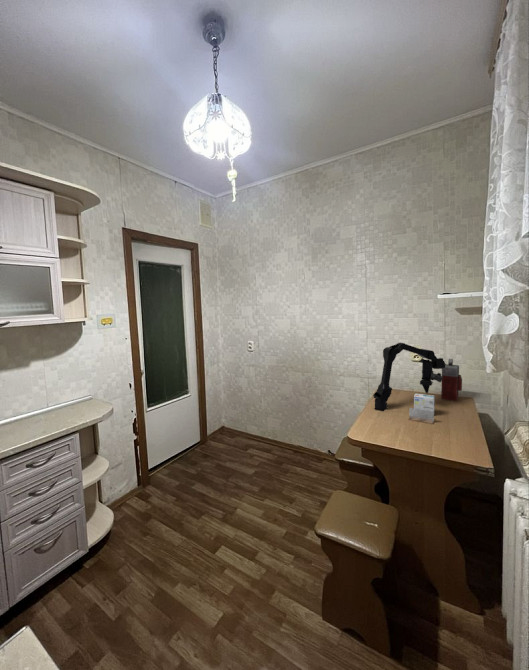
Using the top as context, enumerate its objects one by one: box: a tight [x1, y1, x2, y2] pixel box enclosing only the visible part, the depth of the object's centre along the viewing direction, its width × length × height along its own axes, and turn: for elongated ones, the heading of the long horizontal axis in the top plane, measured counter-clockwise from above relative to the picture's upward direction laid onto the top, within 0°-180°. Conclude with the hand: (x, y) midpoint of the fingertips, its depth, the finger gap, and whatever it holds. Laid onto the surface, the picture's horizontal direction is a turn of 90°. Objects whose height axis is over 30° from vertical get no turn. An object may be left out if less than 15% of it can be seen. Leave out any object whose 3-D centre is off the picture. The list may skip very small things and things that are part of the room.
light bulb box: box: [413, 393, 436, 412], centre depth 169 cm, size 11×7×11 cm, turn 58°
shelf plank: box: [408, 418, 435, 425], centre depth 157 cm, size 12×3×1 cm, turn 55°
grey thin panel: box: [408, 407, 435, 423], centre depth 159 cm, size 12×1×6 cm, turn 55°
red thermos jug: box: [440, 358, 463, 402], centre depth 192 cm, size 9×11×28 cm
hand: (426, 393), depth 182 cm, fingers closed
